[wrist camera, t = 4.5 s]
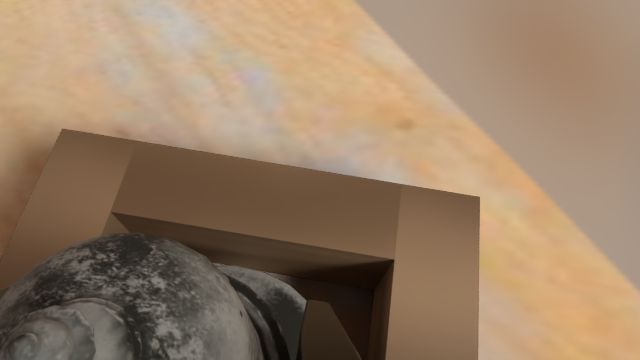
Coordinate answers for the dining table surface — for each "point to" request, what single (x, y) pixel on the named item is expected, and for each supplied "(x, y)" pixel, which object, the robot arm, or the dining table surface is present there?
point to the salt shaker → (147, 306)
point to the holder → (272, 230)
